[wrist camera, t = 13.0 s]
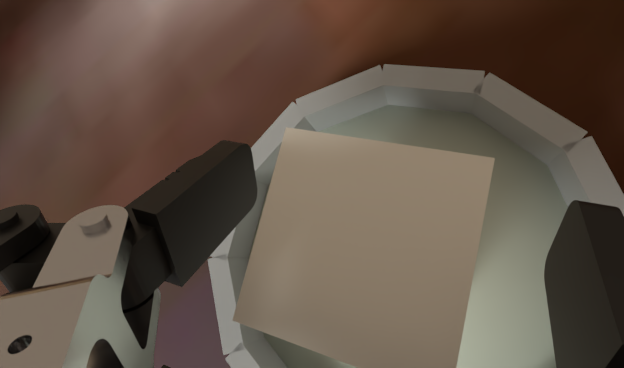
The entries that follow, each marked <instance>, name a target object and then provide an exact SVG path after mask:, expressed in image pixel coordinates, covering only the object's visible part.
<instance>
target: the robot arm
mask: <svg viewBox="0 0 624 368" xmlns="http://www.w3.org/2000/svg"><path fill="white" fill-rule="evenodd" d="M257 191H258V190H257V182H256V176H255V169H254V163H253V156H252V151H251V148H250V146H249V145H247V144H244V143H238V142H232V141H226V140H223V141H220V142H219V143H217V144H216V145H215V146H213V147H212V148H211V149H209V150H208V151H207V152H205V153H204V154H203V155H201V156H199V157H196V158H194V159H191V160H189V161H188V162H186V163H185V164H183V165H182V166H181V167H179V168H178V169H177V170H176V172H172V173H171V174H170V175H168V176H167V177H166V178H165V180H162V181H160V182H159V183H157V184H156V185H155V186H153V187H152V188H151V189H149V190H148V191H146V192H145V193H144V194H142V195H141V196H140V197H138V198H137V199H136V200H134V201H133V202H131V203H130V204H129V205H127V206H126V207H125V208H123V207H121V206H116V205H106V206H99V207H95V208H92V209H89V210H86V211H84V212H82V213H80V214H78V215H76V216H75V217H73V218H72V219H71V220H69V221H68V222H67V223H47V221H46V220H45V218H44V216H43V215H42V213H41V211H40V209H39V208H38V207H37V206H34V205H17V206H12V207H8V208H5V209H2V210H0V280H1V281H2V282H3V284H4V285H5V286H6V288H7V289H8V290H9V292H10V293H6V294H4V295H2V296H1V297H0V368H154V349H155V340H156V332H157V324H158V315H159V307H160V298H161V294H160V290H159V288H158V287H159V286H160V285H161V284H162V283H163V282H164V281H166V282H169V283H172V284H175V285H178V286H181V287H182V286H183V285H184V284H185V283H186V282H187V281H188V280H189V279H190V277H191V276H192V275H193V274H194V273H195V272H196V271H197V270H198V268H199V267H200V266H201V265H202V264H203V263H204V262H205V261H206V260H207V258H208V257H209V256H210V255H211V254H212V253H213V252H214V251H215V249H216V248H217V247H218V246H219V245H220V244H221V243H222V242H223V241H224V239H225V238H226V237H227V236H228V235H229V234H230V233H231V232H232V230H233V229H234V228H235V227H236V226H237V225H238V224H239V223H240V222H241V220H242V219H243V218H244V217H245V216H246V215H247V214H248V213H249V212H250V210H251V209H252V208H253V206H254V204H255V202H256V199H257ZM544 282H545V289H546V296H547V303H548V311H549V318H550V325H551V332H552V340H553V347H554V354H555V361H556V368H624V216H623V214H622V212H621V210H620V209H619V208H618V207H615V206H609V205H603V204H597V203H591V202H585V201H579V200H574V201H572V202H571V203H570V205H569V206H568V208H567V211H566V213H565V215H564V217H563V220H562V222H561V224H560V227H559V229H558V231H557V233H556V236H555V238H554V240H553V243H552V245H551V247H550V249H549V252H548V255H547V258H546V262H545V269H544ZM162 368H170V367H168V366H166V365H163V366H162Z"/></svg>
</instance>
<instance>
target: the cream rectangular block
mask: <svg viewBox="0 0 624 368" xmlns="http://www.w3.org/2000/svg"><path fill="white" fill-rule="evenodd" d="M494 161H495V158H492V157H485V156H478V155H472V154H465V153H458V152H451V151H444V150H438V149H431V148H424V147H417V146H410V145H404V144H397V143H390V142H383V141H376V140H370V139H363V138H356V137H349V136H342V135H336V134H329V133H322V132H315V131H308V130H302V129H295V128H288V127H286V129H285V132H284V136H283V140H282V143H281V147H280V150H279V154H278V158H277V161H276V165H275V168H274V172H273V176H272V179H271V183H270V186H269V190H268V194H267V197H266V201H265V205H264V208H263V212H262V215H261V219H260V223H259V226H258V230H257V233H256V237H255V241H254V244H253V248H252V251H251V255H250V259H249V262H248V266H247V269H246V273H245V277H244V280H243V284H242V287H241V291H240V295H239V298H238V302H237V305H236V309H235V313H234V316H233V320H232V321H235V322H238V323H240V324H243V325H246V326H248V327H251V328H254V329H256V330H259V331H262V332H264V333H267V334H270V335H272V336H275V337H278V338H280V339H283V340H286V341H288V342H291V343H293V344H296V345H299V346H301V347H304V348H307V349H309V350H312V351H315V352H317V353H320V354H323V355H325V356H328V357H331V358H333V359H336V360H339V361H341V362H344V363H347V364H349V365H352V366H355V367H357V368H456V366H457V361H458V355H459V350H460V345H461V339H462V334H463V328H464V323H465V318H466V312H467V307H468V301H469V296H470V290H471V285H472V280H473V274H474V269H475V263H476V258H477V253H478V247H479V242H480V236H481V231H482V226H483V220H484V215H485V209H486V204H487V198H488V193H489V188H490V182H491V177H492V171H493V166H494Z"/></svg>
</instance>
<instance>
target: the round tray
mask: <svg viewBox="0 0 624 368" xmlns="http://www.w3.org/2000/svg"><path fill="white" fill-rule="evenodd" d="M484 74H485V71H480V70H465V69H450V68H435V67H421V66H406V65H391V64H384V66H383V71H382V69H381V66H380V65H378V66H376V67H373V68H371V69H368V70H366V71H363V72H361V73H359V74H356V75H354V76H351V77H349V78H346V79H344V80H342V81H339V82H337V83H334V84H332V85H330V86H327V87H325V88H322V89H320V90H317V91H315V92H313V93H310V94H308V95H305V96H303V97H300V98H298V99H296V102H297V105H296V104H295V103H294V102H292V103H291V104H290V105H289V106H288V107H287V108H286V110H285V111H284V112H283V113H282V114H281V115H280V116H279V117H278V119H277V120H276V121H275V122H274V123H273V124H272V125H271V126H270V127H269V129H268V130H267V131H266V132H265V133H264V134H263V135H262V136H261V138H260V139H259V140H258V141H257V142H256V143H255V144H254V145H253V146H252V148H251V151H252V156H253V163H254V169H255V176H256V182H257V190H258V191H257V199H256V202H255V204H254V206H253V208H252V209H251V210H250V212H249V213H248V214H247V215H246V216H245V217H244V218H243V219H242V220H241V222H240V223H239V224H238V225H237V226H236V227H235V228H234V229H233V230H232V232H231V233H230V234H229V235H228V236H227V237H226V238H225V239H224V241H223V242H222V243H221V244H220V245H219V246H218V247H217V248H216V249H215V251H214V252H213V253H212V254H211V255H210V256H212V257H213V258H210V259H208V264H209V270H210V276H211V282H212V289H213V295H214V301H215V307H216V313H217V319H218V325H219V331H220V337H221V343H222V349H223V355H225V354H229V353H230V354H229V355H228V357H227V358H226V359H225V360H226V361H227V362H228V364H229V365H230V367H231V368H357V367H355V366H352V365H349V364H347V363H344V362H341V361H339V360H336V359H333V358H331V357H328V356H325V355H323V354H320V353H317V352H315V351H312V350H309V349H307V348H304V347H301V346H299V345H296V344H293V343H291V342H288V341H286V340H283V339H280V338H278V337H275V336H272V335H270V334H267V333H264V332H262V331H259V330H256V329H254V328H251V327H248V326H246V325H243V324H240V323H238V322H235V321H232V320H233V316H234V313H235V309H236V305H237V302H238V298H239V295H240V291H241V287H242V284H243V280H244V277H245V273H246V269H247V266H248V262H249V259H250V255H251V251H252V248H253V244H254V241H255V237H256V233H257V230H258V226H259V223H260V219H261V215H262V212H263V208H264V205H265V201H266V197H267V194H268V190H269V186H270V183H271V179H272V176H273V172H274V168H275V165H276V161H277V158H278V154H279V150H280V147H281V143H282V140H283V136H284V132H285V129H286V127H288V128H295V129H302V130H308V131H315V132H322V133H329V134H336V135H342V136H349V137H356V138H363V139H370V140H376V141H383V142H390V143H397V144H404V145H410V146H417V147H424V148H431V149H438V150H444V151H451V152H458V153H465V154H472V155H478V156H485V157H492V158H495V161H494V166H493V171H492V177H491V182H490V188H489V193H488V198H487V204H486V209H485V215H484V220H483V226H482V231H481V236H480V242H479V247H478V253H477V258H476V263H475V269H474V274H473V280H472V285H471V290H470V296H469V301H468V307H467V312H466V318H465V323H464V328H463V334H462V339H461V345H460V350H459V355H458V361H457V366H456V368H556V361H555V354H554V347H553V340H552V332H551V325H550V318H549V311H548V303H547V296H546V289H545V282H544V269H545V262H546V258H547V255H548V252H549V249H550V247H551V245H552V243H553V240H554V238H555V236H556V233H557V231H558V229H559V227H560V224H561V222H562V220H563V217H564V215H565V213H566V211H567V208H568V206H569V205H570V203H571V202H572V201H574V200H579V201H585V202H591V203H597V204H603V205H609V206H615V207H618V208H619V209H620V210H621V212H622V214H623V216H624V194H623V192H622V190H621V189H620V187H619V185H618V183H617V181H616V179H615V178H614V176H613V174H612V172H611V170H610V168H609V167H608V165H607V163H606V161H605V159H604V157H603V156H602V154H601V152H600V150H599V148H598V146H597V145H596V143H595V141H594V139H593V137H592V136H590V137H587V138H584V139H582V138H583V137H584V136H585V135H586V134H587V133H588V132H587V131H585V130H584V129H582V128H580V127H579V126H577V125H576V124H574V123H572V122H571V121H569V120H567V119H566V118H564V117H562V116H561V115H559V114H557V113H556V112H554V111H553V110H551V109H549V108H548V107H546V106H544V105H543V104H541V103H539V102H538V101H536V100H534V99H533V98H531V97H529V96H528V95H526V94H525V93H523V92H521V91H520V90H518V89H516V88H515V87H513V86H511V85H510V84H508V83H506V82H505V81H503V80H501V79H500V78H498V77H497V76H495V75H493V74H492V73H490V72H489V73H488V75H487V76H486V77H485V78H484Z"/></svg>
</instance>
